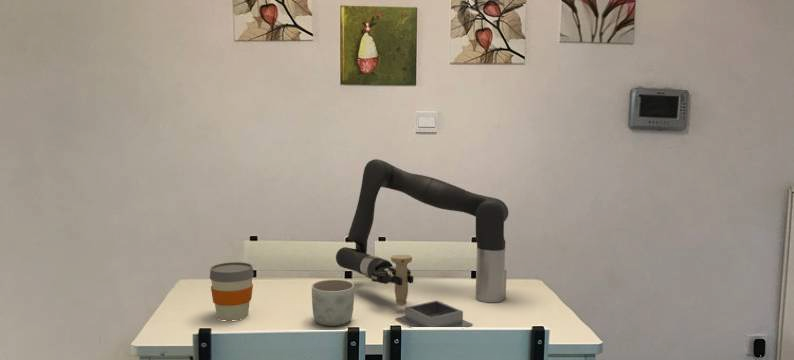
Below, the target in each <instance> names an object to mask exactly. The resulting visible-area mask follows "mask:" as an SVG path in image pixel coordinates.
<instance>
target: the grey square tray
mask: <svg viewBox="0 0 794 360" xmlns="http://www.w3.org/2000/svg"><path fill="white" fill-rule="evenodd" d="M395 321H396V322H398V323H400V324H402V323H403V324H402V325H403V326H406V325H407V326H406V327H408V326H409V327H408V328H410V327H466V328H469V327H468V326H470V327H472V326H473V323H471V322H469V321H467V320H465V319H464V311H463V310H461V309H458V308H456V307H454V306H451V305H449V304H446V303H444V302H443V301H439V300H433V301H429V302H424V303H418V304H414V305H410V306H409V305H408V306H405V307H404V316H403V315H402V316H400V317H395Z"/></svg>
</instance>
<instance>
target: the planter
mask: <svg viewBox="0 0 794 360" xmlns="http://www.w3.org/2000/svg"><path fill="white" fill-rule="evenodd" d="M354 303H355V284H354V283H353V282H351V281H349V280H344V279H323V280H319V281H316V282H314V283H312V285H311V305H312V307H311V308H312V314H313V318H314V320H315V322H316V323H318V324H320V325H322V326H326V327H338V326H343V325H346V324H348V322H350V321H351V320H352V317H353V313H354Z"/></svg>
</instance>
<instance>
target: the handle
mask: <svg viewBox="0 0 794 360" xmlns="http://www.w3.org/2000/svg"><path fill="white" fill-rule="evenodd" d="M412 261H413V256H412V255H410V254H396V255H391V256H390V262H392V263H393V264H395V267H396V276H397V277H400V278H402V285H400V286H399V285H397V284H395V283H394V294H395V295H394V297H395V303H396V305H397V306H406V305H407V302H408V301H407V299H408V294H409V293H408V291H409V289H408V288H409V283H408V279H407V268H408V264H409V263H411V262H412Z"/></svg>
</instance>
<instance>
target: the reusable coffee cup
mask: <svg viewBox="0 0 794 360" xmlns="http://www.w3.org/2000/svg"><path fill="white" fill-rule="evenodd" d="M209 269H210V270H209V271H210V272H209V279H210V280H211V281H210V282H211V286H210V292H211V297H212V303H213V304H214V305H215V306H214V308H215V314H216V319H217V318H218V319H220V320H226V321H232V320H239V321H241V320H240V319H243V318H245V319H246V317H247V316H248V317H249V309H250V302H251V300H252V297H253V289H254V288H253V287H254V284H253V278H254V267H253V265H252V264H251V263H249V262H241V261H240V262H239V261H238V262H236V261H233V262H223V263H218V264H215V265H213V266H211V267H210V268H209ZM248 317H247V318H248ZM218 319H217V320H218ZM220 320H219V321H220ZM243 320H244V319H243ZM226 321H225V322H226ZM232 322H233V321H232Z"/></svg>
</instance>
